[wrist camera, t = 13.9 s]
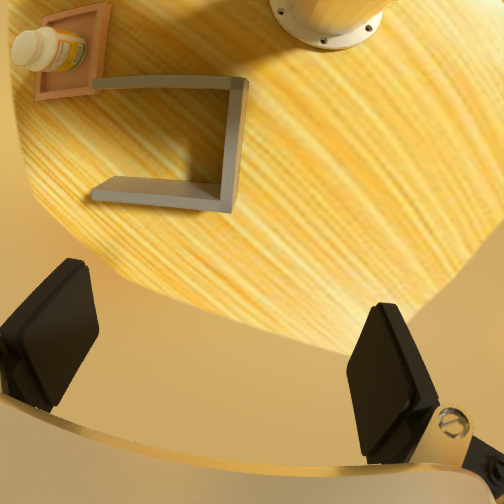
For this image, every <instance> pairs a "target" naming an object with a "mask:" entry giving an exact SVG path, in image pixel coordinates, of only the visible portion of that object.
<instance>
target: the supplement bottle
mask: <svg viewBox="0 0 504 504" xmlns="http://www.w3.org/2000/svg"><path fill="white" fill-rule="evenodd" d="M86 52H87V43H86V40H85V39H84V37H83V36H82V35H80V34H78V33H74V32H69V31H65V30H61V29H56V28H51V27H41V28H38V29H36V30H25V31H23V32H22V33H20V34H19V35H18V36H17V37H16V39H15V40H14V42H13V44H12V47H11V60H12V62H13V63H14V64H15V65H17V66H24V67H25V68H26V69H27V70H29V71H32V72H70V71H72V70H74V69H76V68H77V67H78V66H79V65H80V64H81V63H82V61H83V60H84V58H85V55H86Z"/></svg>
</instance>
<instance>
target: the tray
mask: <svg viewBox="0 0 504 504" xmlns="http://www.w3.org/2000/svg"><path fill="white" fill-rule="evenodd" d="M111 8H112V5H111V4H109V3H107V2H101V3H96V4H91V5H87V6H82V7H78V8H74V9H70V10H66V11H62V12H58V13H55V14H51V15H48V16H45V17H42V23H41V27H51V28H56V29H61V30H65V31H69V32H74V33H78V34H80V35H82V36H83V37H84V39H85V40H86V43H87V52H86V55H85V58H84V60H83V61H82V63H81V64H80V65H79V66H78V67H77V68H76V69H74V70H72V71H70V72H36V76H35V94H34V101H41V100H48V99H56V98H64V97H73V96H83V95H96V94H102V89H99V90H91V86H92V79H94V78H103V73H104V62H105V52H106V43H107V35H108V28H109V21H110V15H111Z"/></svg>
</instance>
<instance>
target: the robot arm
mask: <svg viewBox="0 0 504 504" xmlns="http://www.w3.org/2000/svg"><path fill="white" fill-rule="evenodd" d="M395 1H397V0H270V6H271V9H272V12H273V14H274V16H275V18H276V19H277V21H278V23H279V24H280V25H281V26H282V27H283V28H284V30H285V31H287V32H288V33H289V34H290V35H292V36H293V37H294V38H296V39H298V40H300V41H301V42H303V43H306V44H308V45H311V46H313V47H318V48H322V49H332V50H338V49H346V48H350V47H354V46H356V45H358V44H360V43H362V42H364V41H366V40H367V39H369V38H370V37H371V36H372V35H373V34H374V33H375V32H376V30H377V29H378V27H379V25H380V23H381V20H382V17H383V10H384V9H385V8H387V7H388V6H390V5H391V4H393V3H394V2H395ZM501 1H502V2H503V3H504V0H501ZM279 12H283V15H280V14H279ZM365 28H367V29H368V30H369V31H366V30H365ZM321 40H323V41H324V42H325V43H324V44H322V43H321V42H320V41H321ZM98 334H99V324H98V320H97V315H96V309H95V304H94V299H93V293H92V287H91V280H90V274H89V268H88V266H86V265H85V263H84V262H83V261H82V260H77V259H72V258H67V259H66V260H64V261H63V262H62V263H61V264H60V265H59V266H58V267H57V268H56V269H55V270H54V271H53V272H52V273H51V274H50V275H49V276H48V277H47V278H46V279H45V280H44V281H43V282H42V283H41V284H40V285H39V286H38V287H37V288H36V289H35V290H34V291H33V292H32V293H31V294H30V295H29V296H28V297H27V299H26V300H25V301H24V302H23V303H22V304H21V305H20V306H19V307H18V308H17V309H16V310H15V311H14V312H13V314H12V315H11V316H10V317H9V318H8V319H7V320H6V321H5V323H4V324H3V325H2V326H1V327H0V504H504V454H502V453H501V452H499V451H498V450H496V449H494V448H493V447H491V446H489V445H488V444H486V443H485V442H483V441H481V440H480V439H478V438H477V437H475V436H473V435H472V434H473V430H474V426H473V421H472V419H471V417H470V415H469V414H468V413H467V412H466V410H464V409H463V408H461V407H460V406H458V405H455V404H449V403H447V404H442V405H440V403H439V401H438V398H439V397H438V395H437V392H436V390H435V387H434V385H433V383H432V380H431V378H430V376H429V373H428V371H427V369H426V366H425V364H424V362H423V360H422V358H421V355H420V353H419V351H418V349H417V346H416V344H415V342H414V340H413V338H412V336H411V334H410V331H409V329H408V327H407V325H406V323H405V321H404V319H403V317H402V315H401V313H400V311H399V309H398V307H397V305H396V304H391V303H381V302H380V303H378V304H377V305H376V306H373V307H372V308H371V310H370V312H369V315H368V317H367V320H366V322H365V325H364V327H363V330H362V332H361V334H360V337H359V339H358V342H357V344H356V346H355V349H354V351H353V353H352V355H351V358H350V360H349V362H348V365H347V371H346V373H347V378H348V383H349V388H350V393H351V398H352V404H353V408H354V414H355V420H356V425H357V431H358V436H359V442H360V448H361V453H362V455H363V456H366V458H367V464H380V463H381V465H366V466H331V467H330V466H329V467H314V466H282V465H267V464H256V463H246V462H237V461H228V460H221V459H214V458H208V457H202V456H195V455H190V454H185V453H180V452H175V451H169V450H165V449H160V448H156V447H152V446H147V445H144V444H140V443H136V442H132V441H129V440H125V439H122V438H118V437H115V436H111V435H108V434H105V433H102V432H99V431H96V430H92V429H90V428H87V427H83V426H81V425H78V424H75V423H72V422H70V421H67V420H64V419H62V418H59V417H57V416H54V415H52V414H49V413H50V412H51V410H52V408H53V406H57V405H58V404H59V402H60V401H61V399H62V397H63V395H64V393H65V392H66V390H67V388H68V386H69V384H70V383H71V381H72V379H73V377H74V376H75V374H76V372H77V370H78V368H79V367H80V365H81V363H82V362H83V360H84V358H85V357H86V355H87V353H88V352H89V350H90V348H91V347H92V345H93V343H94V342H95V340H96V338H97V337H98ZM35 407H37V408H38V409H37V408H35ZM40 409H41V410H40ZM42 410H43V411H42ZM44 411H45V412H44ZM47 412H48V413H47Z"/></svg>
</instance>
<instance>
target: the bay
mask: <svg viewBox="0 0 504 504" xmlns="http://www.w3.org/2000/svg"><path fill="white" fill-rule="evenodd" d="M133 88H193V89H215V90H230V96H229V106H228V116H227V126H226V136H225V147H224V158H223V170H222V182H221V184H212V183H202V182H191V181H179V180H167V179H154V178H139V177H123V176H114V177H112V178H110V179H108V180H107V181H105V182H103V183H102V184H100V185H98V186H97V187H95V188H93V189H92V190H91V194H92V200H97V201H110V202H122V203H133V204H144V205H155V206H165V207H175V208H185V209H195V210H204V211H213V212H222V213H231V212H232V209H233V206H234V204H235V201H236V198H237V192H238V182H239V172H240V162H241V152H242V143H243V133H244V124H245V115H246V105H247V96H248V88H249V81H248V80H247V79H246V78H241V77H227V76H210V75H135V76H118V77H105V78H94V79H92V86H91V90H99V89H133Z"/></svg>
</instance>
